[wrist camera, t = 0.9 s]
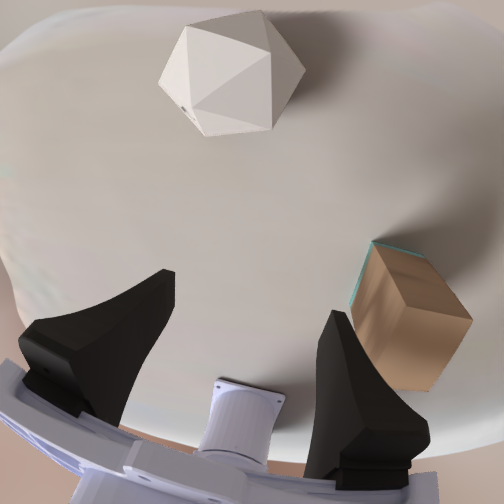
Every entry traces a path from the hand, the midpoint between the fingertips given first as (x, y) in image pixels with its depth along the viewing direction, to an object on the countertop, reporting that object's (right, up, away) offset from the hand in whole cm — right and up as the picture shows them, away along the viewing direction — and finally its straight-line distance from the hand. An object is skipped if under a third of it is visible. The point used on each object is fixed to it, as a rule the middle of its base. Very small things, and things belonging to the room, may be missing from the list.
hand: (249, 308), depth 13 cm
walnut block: (+12, 0, +11) cm, 16 cm away
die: (0, +15, +7) cm, 17 cm away
